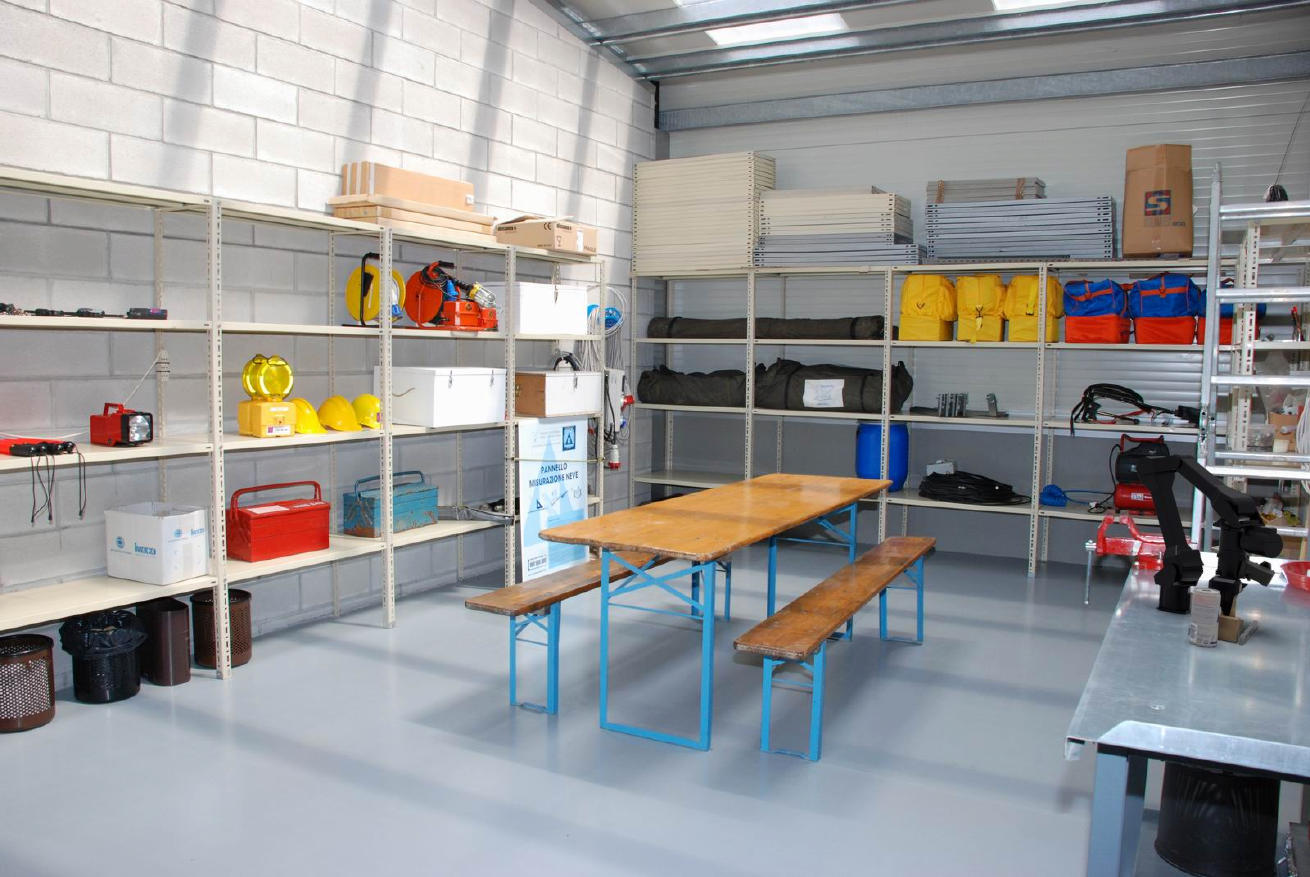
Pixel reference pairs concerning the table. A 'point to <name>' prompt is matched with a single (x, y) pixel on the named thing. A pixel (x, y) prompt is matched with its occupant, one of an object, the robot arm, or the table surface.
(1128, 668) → the table surface
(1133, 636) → the table surface
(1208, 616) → the energy drink
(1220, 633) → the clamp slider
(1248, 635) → the clamp rails
